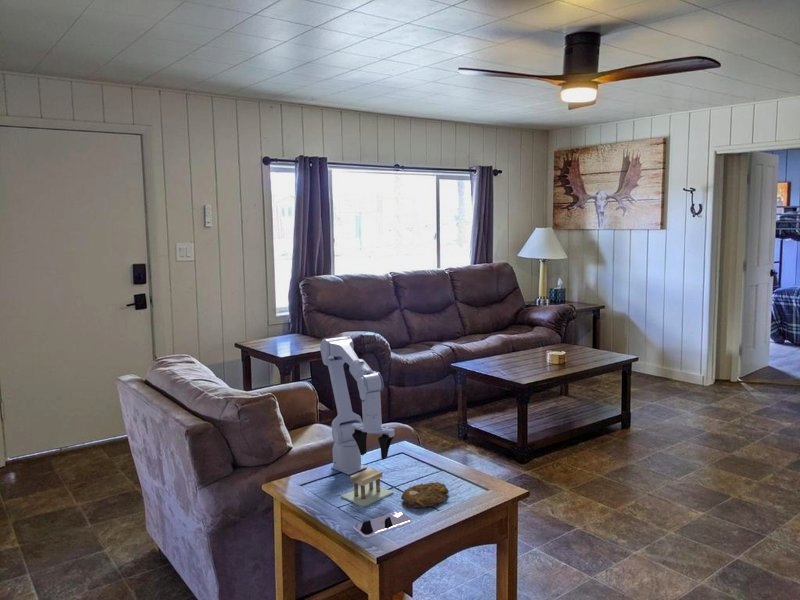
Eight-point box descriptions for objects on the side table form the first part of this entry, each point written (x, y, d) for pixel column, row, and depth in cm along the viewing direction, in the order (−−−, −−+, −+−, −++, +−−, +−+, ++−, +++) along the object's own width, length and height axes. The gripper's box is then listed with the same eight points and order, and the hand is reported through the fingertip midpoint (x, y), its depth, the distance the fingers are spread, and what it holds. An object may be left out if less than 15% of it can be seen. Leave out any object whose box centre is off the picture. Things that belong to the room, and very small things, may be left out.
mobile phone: (351, 524, 165) (399, 509, 173) (351, 528, 165) (399, 512, 173) (365, 536, 158) (414, 519, 166) (365, 539, 158) (414, 522, 166)
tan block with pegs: (351, 495, 183) (350, 476, 182) (370, 486, 189) (369, 467, 188) (364, 500, 179) (362, 480, 179) (383, 491, 185) (382, 472, 184)
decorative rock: (430, 488, 189) (394, 506, 178) (428, 475, 188) (393, 492, 178) (458, 496, 180) (423, 516, 170) (457, 483, 180) (421, 502, 170)
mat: (340, 497, 183) (340, 495, 183) (371, 484, 192) (371, 483, 192) (362, 507, 176) (362, 505, 176) (393, 493, 184) (393, 491, 184)
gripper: (399, 412, 186) (401, 455, 188) (359, 406, 194) (361, 448, 195) (386, 418, 180) (388, 463, 182) (346, 412, 188) (348, 455, 189)
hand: (373, 456), depth 188 cm, fingers open, 7 cm apart
